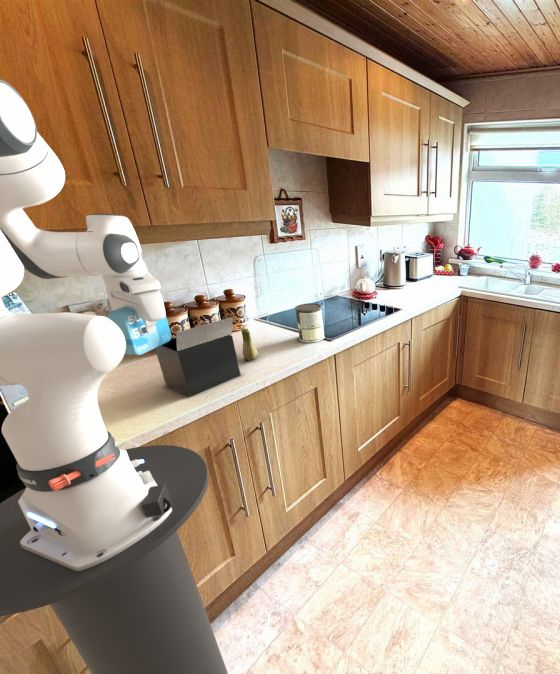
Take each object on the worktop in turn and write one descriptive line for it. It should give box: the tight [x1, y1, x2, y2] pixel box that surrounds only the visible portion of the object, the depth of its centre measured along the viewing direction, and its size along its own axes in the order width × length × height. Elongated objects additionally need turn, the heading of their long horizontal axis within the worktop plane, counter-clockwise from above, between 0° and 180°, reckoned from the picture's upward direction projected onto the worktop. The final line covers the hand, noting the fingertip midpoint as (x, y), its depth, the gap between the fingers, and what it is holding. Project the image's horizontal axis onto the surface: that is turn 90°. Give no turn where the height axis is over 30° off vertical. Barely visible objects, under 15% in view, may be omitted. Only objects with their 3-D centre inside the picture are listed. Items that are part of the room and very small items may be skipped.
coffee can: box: [294, 302, 326, 343], centre depth 149 cm, size 10×10×14 cm
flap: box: [175, 316, 234, 351], centre depth 105 cm, size 6×16×1 cm
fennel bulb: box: [240, 327, 259, 362], centre depth 129 cm, size 6×5×12 cm
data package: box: [106, 307, 172, 356], centre depth 95 cm, size 12×4×12 cm, turn 176°
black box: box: [154, 334, 241, 398], centre depth 113 cm, size 13×16×14 cm
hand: (143, 330), depth 96 cm, fingers closed on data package, 6 cm apart
